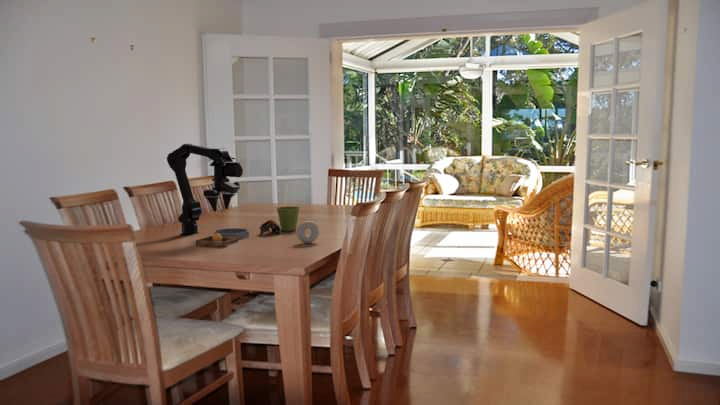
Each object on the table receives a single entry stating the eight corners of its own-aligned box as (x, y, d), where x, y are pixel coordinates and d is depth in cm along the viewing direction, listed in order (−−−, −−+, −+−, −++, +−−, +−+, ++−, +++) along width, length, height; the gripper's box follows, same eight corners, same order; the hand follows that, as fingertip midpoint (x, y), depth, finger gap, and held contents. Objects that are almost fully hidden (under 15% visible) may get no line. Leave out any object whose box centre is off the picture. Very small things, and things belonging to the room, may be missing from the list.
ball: (210, 243, 257) (210, 234, 256) (216, 241, 261) (215, 232, 260) (219, 244, 256) (218, 234, 255) (224, 242, 259) (223, 233, 259)
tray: (196, 245, 255) (195, 240, 255) (210, 241, 266) (210, 236, 265) (224, 247, 251) (224, 242, 251) (238, 242, 261) (238, 238, 261)
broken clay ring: (282, 238, 276) (273, 223, 274) (264, 246, 278) (255, 232, 275) (285, 227, 287) (277, 213, 285) (268, 235, 289) (260, 221, 286)
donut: (297, 244, 257) (297, 221, 256) (295, 243, 260) (295, 220, 259) (320, 243, 261) (320, 220, 260) (317, 241, 264) (317, 219, 263)
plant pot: (297, 227, 302) (297, 205, 300) (302, 231, 291) (302, 208, 289) (274, 229, 298) (273, 206, 297) (278, 232, 287) (278, 209, 286)
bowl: (207, 239, 268) (207, 232, 268) (226, 234, 283) (225, 227, 282) (237, 242, 263) (237, 234, 263) (254, 236, 278) (254, 229, 277)
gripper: (223, 178, 260) (224, 214, 262) (246, 175, 278) (247, 209, 280) (202, 177, 264) (202, 212, 266) (226, 174, 282) (226, 207, 284)
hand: (220, 210), depth 274 cm, fingers open, 9 cm apart
